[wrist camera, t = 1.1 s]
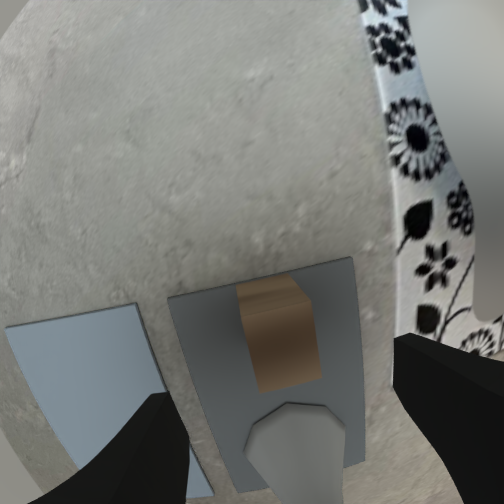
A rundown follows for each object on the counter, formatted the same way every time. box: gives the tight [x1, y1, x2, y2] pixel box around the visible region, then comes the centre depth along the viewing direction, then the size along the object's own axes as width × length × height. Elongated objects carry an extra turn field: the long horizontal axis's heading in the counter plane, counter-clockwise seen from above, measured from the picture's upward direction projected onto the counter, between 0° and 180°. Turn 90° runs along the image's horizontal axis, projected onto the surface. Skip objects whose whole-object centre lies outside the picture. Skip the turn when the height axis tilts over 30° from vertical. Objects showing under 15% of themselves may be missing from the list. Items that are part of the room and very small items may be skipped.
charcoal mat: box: [167, 257, 365, 493], centre depth 18 cm, size 18×11×5 cm, turn 12°
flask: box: [243, 403, 346, 504], centre depth 16 cm, size 7×7×10 cm
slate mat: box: [4, 303, 214, 498], centre depth 19 cm, size 18×11×1 cm, turn 12°
